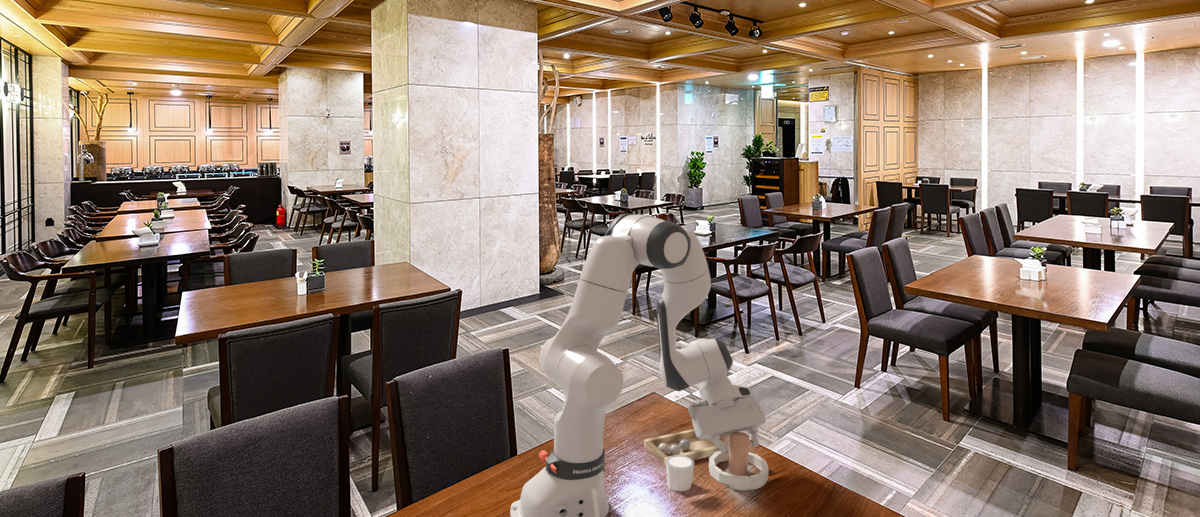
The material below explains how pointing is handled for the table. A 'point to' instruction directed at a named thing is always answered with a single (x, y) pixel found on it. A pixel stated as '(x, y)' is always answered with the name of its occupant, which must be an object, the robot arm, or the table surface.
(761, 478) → the bowl
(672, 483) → the shot glass
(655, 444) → the parts tray
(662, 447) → the pebble
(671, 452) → the pebble
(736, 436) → the peach cylinder
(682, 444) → the pebble
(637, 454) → the table surface
